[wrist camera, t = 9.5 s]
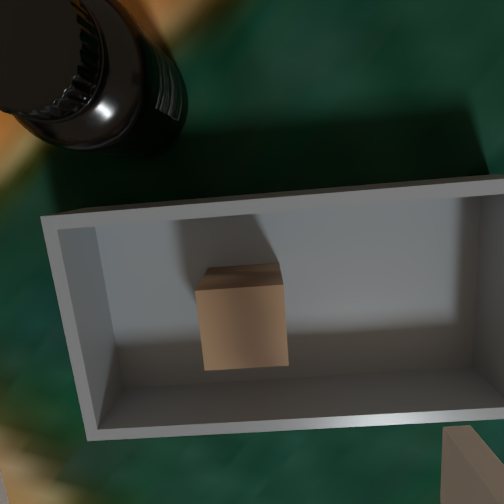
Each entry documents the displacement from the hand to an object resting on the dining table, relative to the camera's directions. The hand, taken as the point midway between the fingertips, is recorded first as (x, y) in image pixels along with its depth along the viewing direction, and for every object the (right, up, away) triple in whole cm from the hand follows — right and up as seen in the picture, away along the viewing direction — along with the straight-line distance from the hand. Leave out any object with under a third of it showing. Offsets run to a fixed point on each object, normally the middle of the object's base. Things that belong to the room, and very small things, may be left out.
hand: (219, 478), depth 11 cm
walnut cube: (+1, +3, +15) cm, 15 cm away
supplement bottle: (-7, +16, +13) cm, 22 cm away
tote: (+4, +4, +15) cm, 16 cm away
